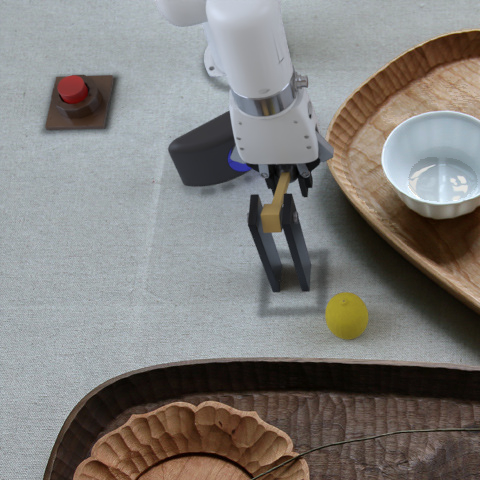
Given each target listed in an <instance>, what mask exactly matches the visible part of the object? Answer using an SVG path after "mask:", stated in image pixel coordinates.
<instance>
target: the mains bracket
mask: <svg viewBox="0 0 480 480" xmlns="http://www.w3.org/2000/svg"><path fill="white" fill-rule="evenodd" d="M263 206H264V205H263V203H262V200H261V198H260V194H258V193H257V194H250V196H249V208H248V212H247V214H246V223H247V227H248V229H249V230H248V231H249V232H250V235H251V237H252V240H253V243H254V245H255V249H256V251H257V254H258V256H259V259H260V261H261V264H262V267H263V269H264V272H265V275H266V277H267V280H268V283H269V286H270V289H271V291H272V293H280V292H281V286H282V284H281V283H282V273H283V271H282V270H283V264H282V260H281V257H280V254H279V250H278V248H277V246H276V245H277V244H276V242H275V238H274V236H273V233H264V232H263V227H262V221H261V212H262V209H263ZM282 228H283V229H282V232H283V234H284V237H285V240H286V244H287V247H288V250H289V253H290V256H291V257H290V258H291V259H292V260H291V261H292V263H293V267H294V269H295V273H296V276H297V278H298V282H299V285H300V288H301V289H300V290H301V292H302V293H303V292H304V293H305V292H311V291H310V290H311V273H312V262H311V258H310V255H309V254H310V253H309V250H308V246H307V243H306V240H305V236H304V232H303V228H302V225H301V222H300V218H299V212H298V211H297V207H296V203H295V199H294V196H293V193H292V192H291V193H286V194H284V199H283V212H282Z"/></svg>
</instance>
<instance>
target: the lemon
mask: <svg viewBox="0 0 480 480" xmlns="http://www.w3.org/2000/svg"><path fill="white" fill-rule="evenodd" d="M324 313H325V314H324V318H325V323H326V326H327V328H328V329H329V331H330V332H331V333H332V334H333V336H334V337H335V336H336V337H337V338H338V339H342V340H348V341H349V340H354V339H356V338H359V337H360V336H361V335H363V333H364V332H365V331H366V328H367V327H368V323H369V311H368V308H367V305H366V303H365V302H364V300H363V299H362V298H361V297H360V296H359V295H357V294H355V293H354V292H348V291H344V292H343V291H342V292H339V293H338V292H337V294H335V295H333V296H332V297H331V298H330V299H329V301H328V302H327V303H326V307H325V312H324Z"/></svg>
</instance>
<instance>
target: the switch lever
mask: <svg viewBox="0 0 480 480" xmlns="http://www.w3.org/2000/svg"><path fill="white" fill-rule="evenodd" d="M275 174H276V176H277V178H278V179H279V182H278V185H277V188H276V191H275V194H274V197H273V196H272V197H273V198H272V201H271V203H264V204H263V205H262V206H263V209H262V212H261V221H262V227H263V232H264V233H272V234H274V233H275V234H276V233H282V232H283V228H282V212H283V199H284V194H287V192H288V189H289V186H290V184H293V183H295V181H298V168H297V165H296V163H295V164H277V165H276V168H275Z"/></svg>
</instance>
